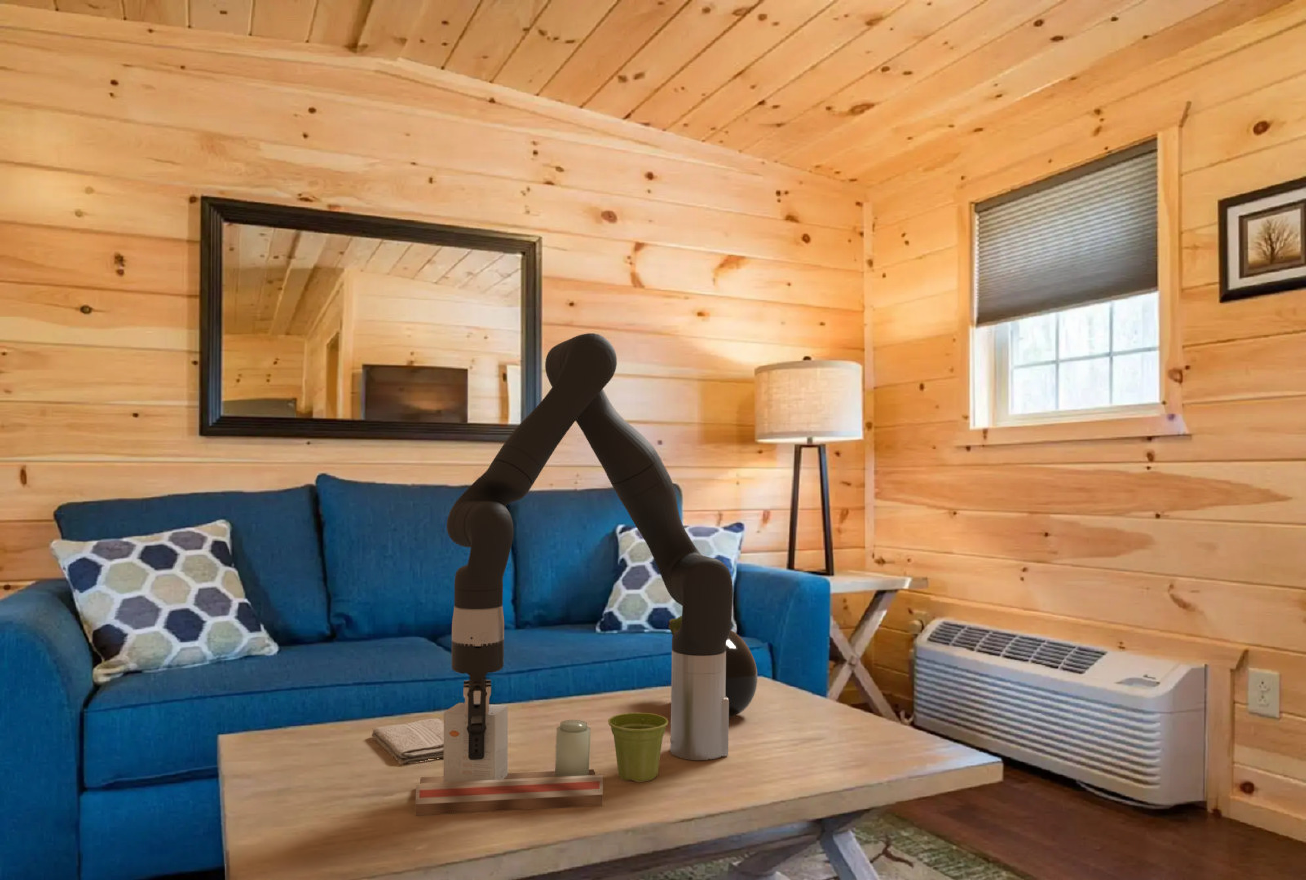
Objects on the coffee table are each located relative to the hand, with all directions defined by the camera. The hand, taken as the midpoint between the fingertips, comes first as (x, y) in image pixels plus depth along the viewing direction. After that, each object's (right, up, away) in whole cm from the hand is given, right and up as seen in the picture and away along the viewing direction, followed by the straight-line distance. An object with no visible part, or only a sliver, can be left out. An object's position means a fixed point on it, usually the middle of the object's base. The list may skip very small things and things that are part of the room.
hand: (476, 750), depth 135 cm
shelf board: (+5, -7, 0) cm, 8 cm away
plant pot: (+23, -7, +10) cm, 26 cm away
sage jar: (+14, -5, +1) cm, 15 cm away
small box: (0, -5, 0) cm, 5 cm away
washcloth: (-14, -8, +23) cm, 28 cm away
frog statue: (+36, -9, +50) cm, 62 cm away
